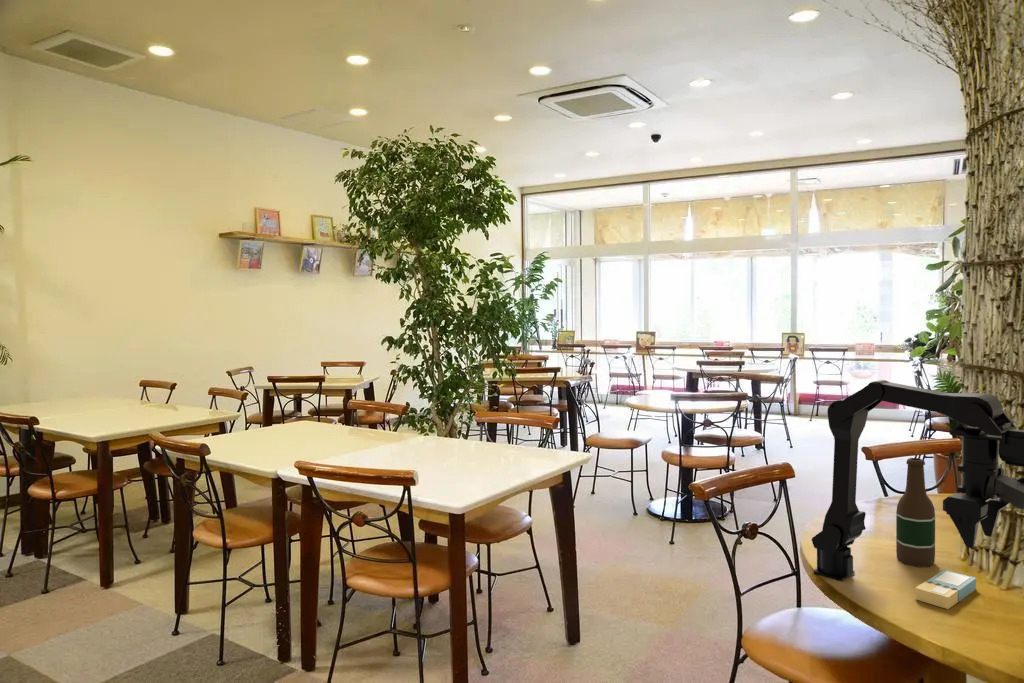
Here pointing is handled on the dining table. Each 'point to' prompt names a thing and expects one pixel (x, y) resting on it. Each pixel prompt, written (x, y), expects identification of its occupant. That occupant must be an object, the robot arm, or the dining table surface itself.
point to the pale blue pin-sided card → (955, 582)
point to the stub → (936, 595)
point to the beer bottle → (915, 520)
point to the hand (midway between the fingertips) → (979, 541)
